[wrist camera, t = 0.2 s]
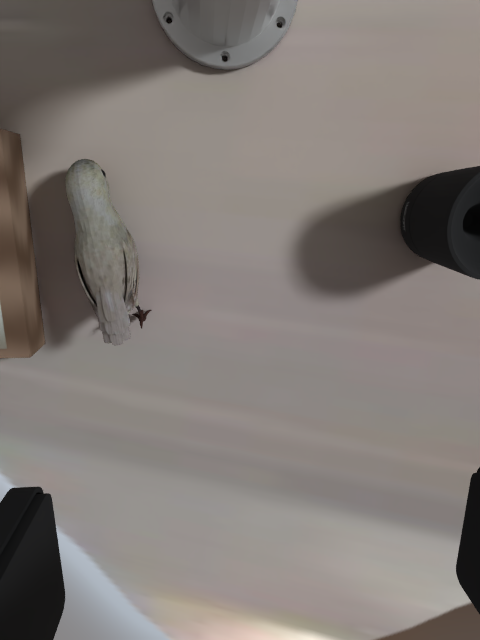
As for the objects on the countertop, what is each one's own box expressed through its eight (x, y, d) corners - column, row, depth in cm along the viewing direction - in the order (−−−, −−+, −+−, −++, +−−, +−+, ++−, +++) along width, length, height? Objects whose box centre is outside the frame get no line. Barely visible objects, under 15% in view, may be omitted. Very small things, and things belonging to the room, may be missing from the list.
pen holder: (441, 147, 42) (509, 134, 33) (502, 209, 45) (583, 214, 35) (375, 225, 44) (423, 234, 34) (438, 280, 46) (499, 303, 37)
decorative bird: (118, 156, 41) (100, 148, 33) (158, 318, 45) (149, 342, 38) (61, 166, 40) (30, 161, 33) (107, 327, 45) (88, 353, 38)
